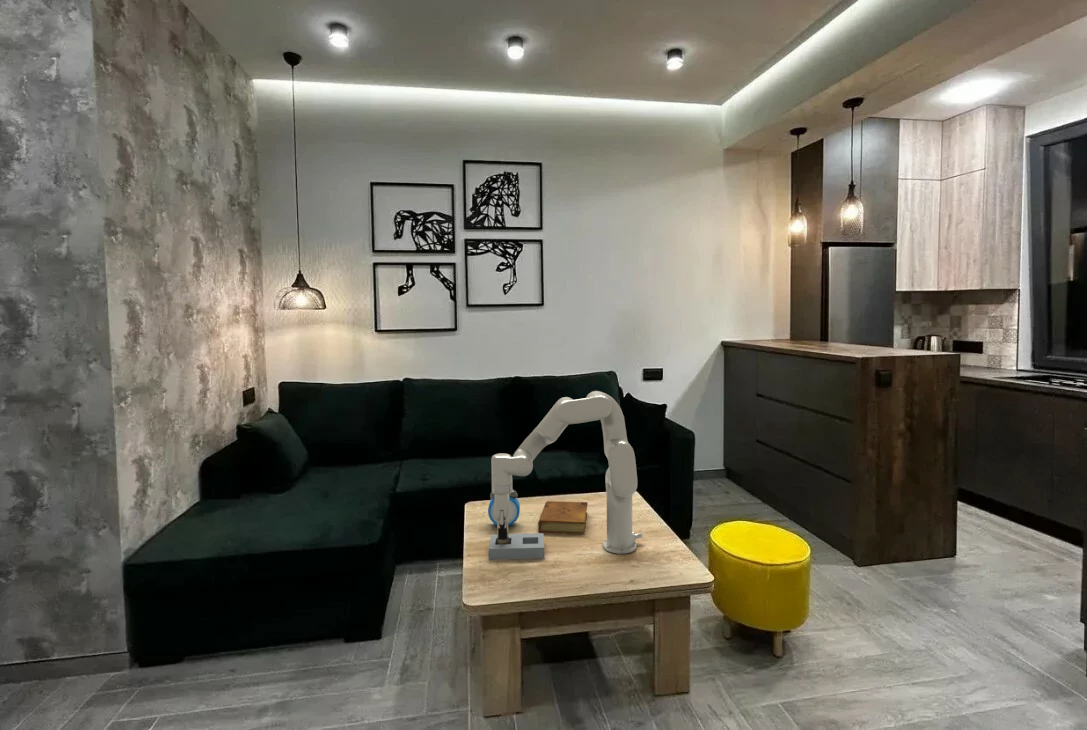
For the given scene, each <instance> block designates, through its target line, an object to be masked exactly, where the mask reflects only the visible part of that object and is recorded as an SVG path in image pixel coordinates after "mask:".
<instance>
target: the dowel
mask: <svg viewBox="0 0 1087 730" xmlns="http://www.w3.org/2000/svg"><path fill="white" fill-rule="evenodd" d="M504 519H505V518H504ZM498 520H499V518H498ZM498 520H497V526H496V528H497V531H496V532H497V534H498V528H499V521H498ZM504 523H505V522H504ZM506 528H507V539H499V538H498V536H497V539H498V545H502V544H508V538H509V536H508V534H509V526H508V520H507V521H506Z"/></svg>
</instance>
